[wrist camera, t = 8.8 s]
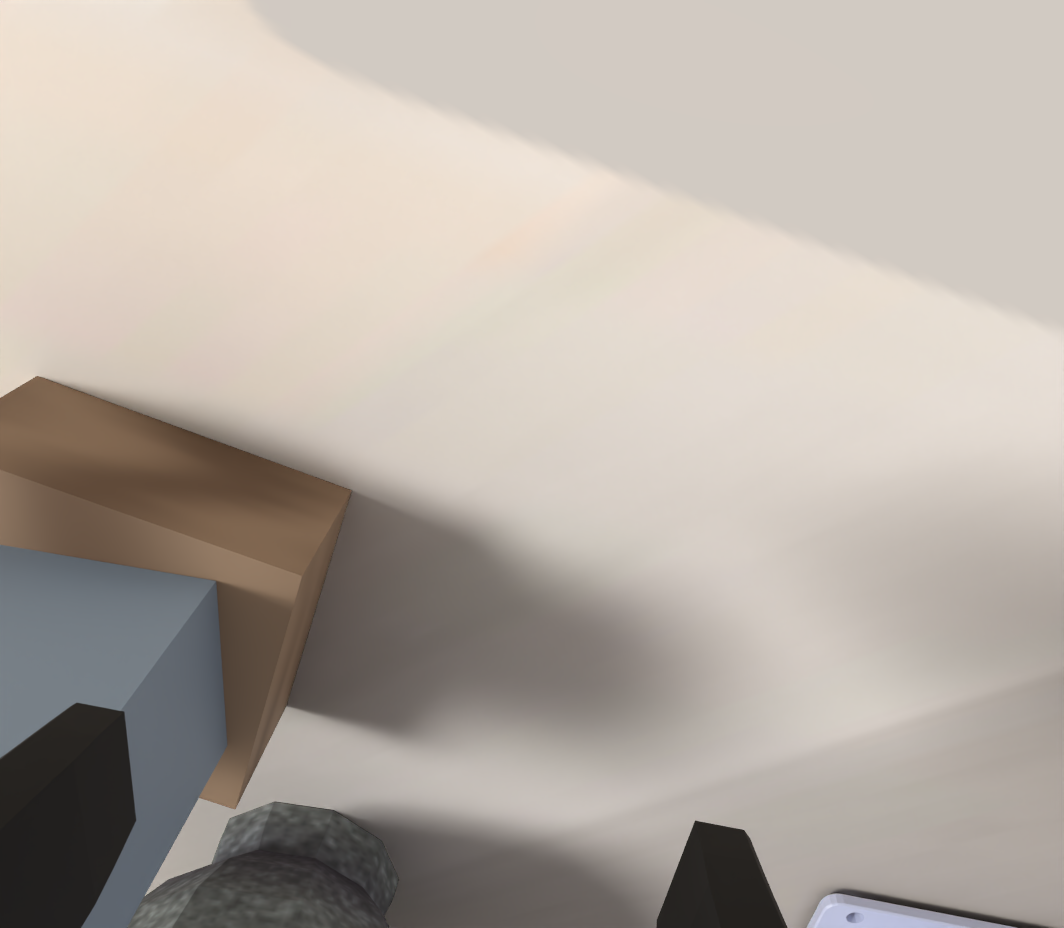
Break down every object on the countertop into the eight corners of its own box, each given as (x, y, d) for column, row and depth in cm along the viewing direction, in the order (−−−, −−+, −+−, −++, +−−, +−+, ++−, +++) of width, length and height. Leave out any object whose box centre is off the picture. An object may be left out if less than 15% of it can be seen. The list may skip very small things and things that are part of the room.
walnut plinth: (355, 483, 21) (302, 575, 17) (289, 697, 25) (235, 809, 21) (46, 370, 20) (-76, 442, 17) (27, 608, 24) (-76, 708, 20)
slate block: (216, 581, 18) (41, 817, 12) (227, 745, 20) (85, 1003, 15) (-11, 542, 18) (-279, 761, 12) (27, 710, 20) (-184, 954, 15)
